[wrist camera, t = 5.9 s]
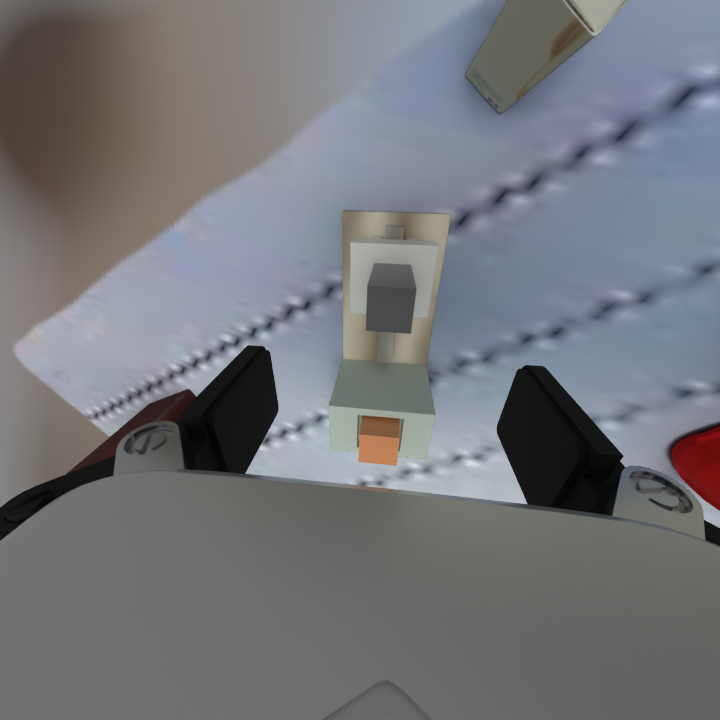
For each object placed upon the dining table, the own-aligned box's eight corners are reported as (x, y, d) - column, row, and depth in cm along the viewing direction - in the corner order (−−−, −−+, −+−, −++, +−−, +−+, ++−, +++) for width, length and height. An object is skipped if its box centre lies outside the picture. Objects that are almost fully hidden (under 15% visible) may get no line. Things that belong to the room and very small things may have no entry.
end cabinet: (426, 364, 34) (435, 415, 26) (419, 404, 37) (426, 459, 29) (343, 358, 34) (328, 405, 27) (343, 397, 37) (330, 450, 30)
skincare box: (500, 117, 23) (588, 50, 13) (462, 75, 22) (524, -36, 12) (574, 22, 20) (771, -170, 10) (534, -32, 19) (705, -310, 9)
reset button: (399, 415, 27) (399, 438, 25) (396, 441, 29) (396, 465, 27) (362, 412, 28) (359, 434, 25) (361, 438, 30) (358, 461, 27)
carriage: (431, 238, 26) (455, 264, 16) (422, 300, 29) (438, 355, 19) (357, 235, 27) (334, 259, 17) (356, 296, 30) (336, 348, 20)
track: (448, 213, 27) (455, 215, 24) (418, 397, 38) (420, 414, 35) (344, 210, 28) (338, 212, 25) (345, 390, 39) (341, 407, 36)
